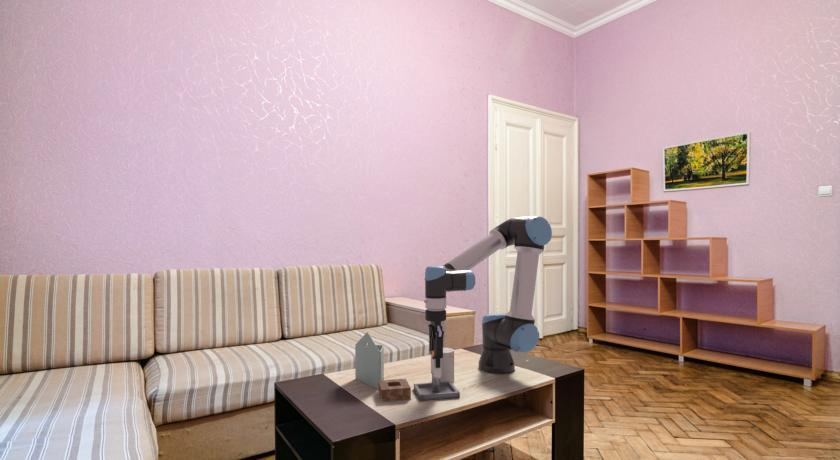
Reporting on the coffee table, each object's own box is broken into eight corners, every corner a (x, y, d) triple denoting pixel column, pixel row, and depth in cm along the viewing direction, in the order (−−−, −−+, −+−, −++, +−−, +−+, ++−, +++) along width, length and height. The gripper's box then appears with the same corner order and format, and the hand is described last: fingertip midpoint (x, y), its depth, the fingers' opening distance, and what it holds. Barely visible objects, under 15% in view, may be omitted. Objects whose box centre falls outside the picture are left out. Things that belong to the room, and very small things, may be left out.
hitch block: (405, 389, 162) (405, 378, 162) (410, 399, 152) (410, 387, 152) (378, 391, 160) (378, 380, 160) (381, 401, 150) (381, 389, 150)
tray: (450, 386, 165) (450, 381, 165) (459, 397, 154) (459, 392, 154) (413, 388, 162) (413, 383, 162) (420, 400, 151) (420, 395, 151)
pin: (431, 389, 159) (430, 350, 159) (439, 388, 160) (438, 349, 160) (432, 392, 156) (432, 352, 156) (441, 391, 157) (440, 351, 157)
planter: (396, 384, 167) (396, 332, 167) (379, 389, 162) (379, 335, 162) (371, 374, 179) (371, 326, 180) (354, 379, 174) (354, 328, 174)
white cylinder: (452, 385, 166) (452, 353, 166) (431, 384, 168) (431, 352, 168) (455, 378, 174) (455, 348, 174) (435, 377, 176) (435, 347, 176)
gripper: (420, 306, 166) (421, 369, 165) (430, 313, 150) (430, 382, 149) (440, 305, 167) (440, 367, 167) (451, 312, 151) (452, 381, 151)
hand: (436, 374), depth 158 cm, fingers closed on pin, 3 cm apart
